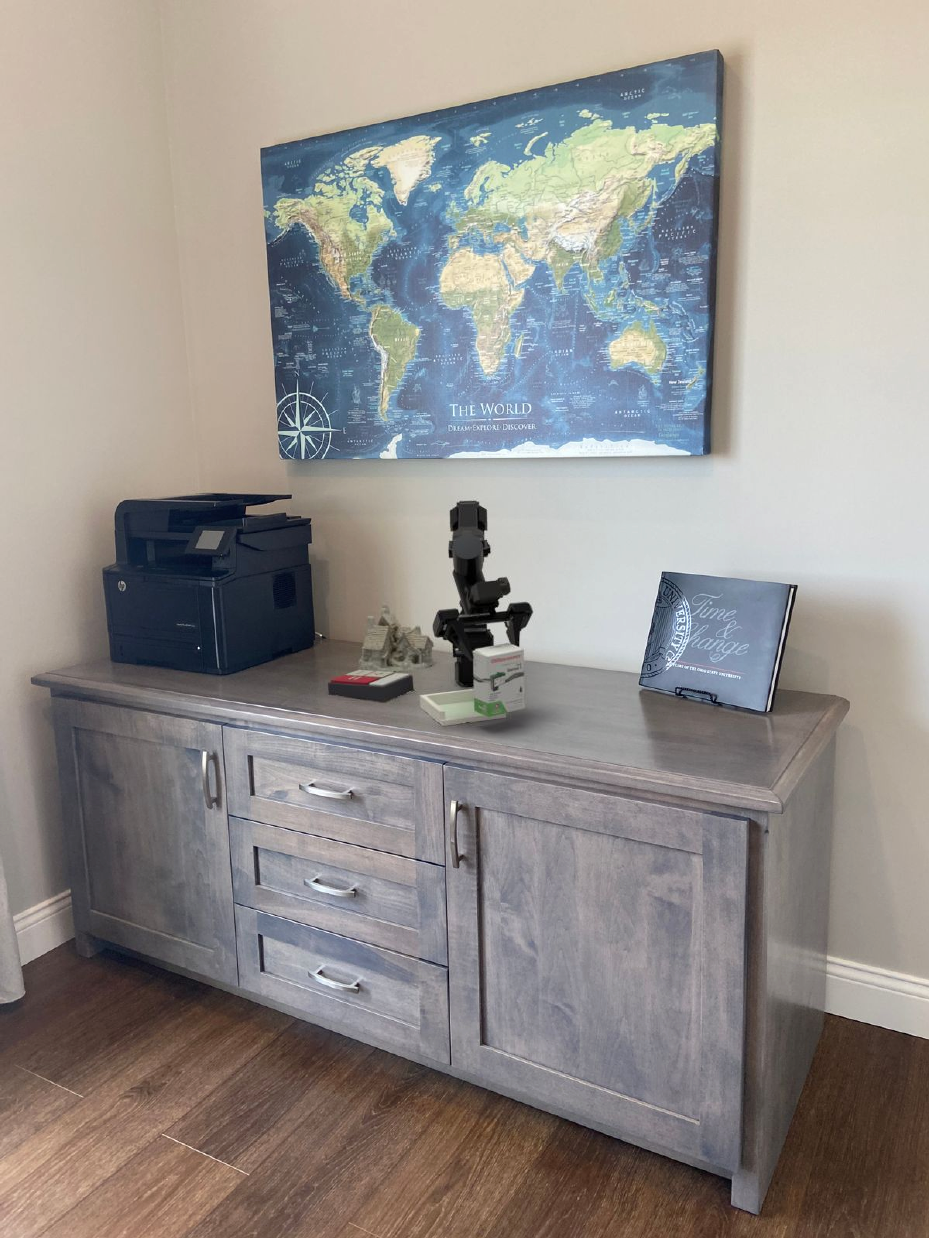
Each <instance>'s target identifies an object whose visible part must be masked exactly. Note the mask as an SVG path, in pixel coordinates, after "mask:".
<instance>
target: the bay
mask: <svg viewBox="0 0 929 1238" xmlns="http://www.w3.org/2000/svg"><path fill="white" fill-rule="evenodd" d="M419 706H420V707H421V710H423V711H424V712H425V713H426V712H427V713H428V714H427V713H426V714H427V715H429V716H430V717H431V718H432V719H433V720H434V719H435V722H437V723H438V722H439V723H440V724H441V725H440V724H439V723H438V724H439V725H440V726H441V727H445V726H446V727H447V726H454V725H460V724H461V723H462V724H467V723H466V722H470V723H475V722H482V721H491V720H497V719H505V718H507V713H504V714H500V715H495V716H492V717H487V716H485V715H483V714H480V713H478V712H476V711H474V688H469V689H462V690H454V691H446V692H445V691H444V692H443V691H442V692H436V693H430V694H429V693H428V694H421V695H420V694H419ZM462 724H461V725H462Z"/></svg>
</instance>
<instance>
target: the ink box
mask: <svg viewBox="0 0 929 1238" xmlns="http://www.w3.org/2000/svg"><path fill="white" fill-rule="evenodd" d="M524 650H525V649H524V648H522V647H520V646H519V647H517V646H515V645H513V644H511V643H510V642H506V643H500V644H494V646H489V647H484V648H479V649H475V650H474V651H473V657H474V658H473V675H474V685H473V689H474V711H476V712H478V713H480V714H483V715H485V716H487V717H492V716H495V715H500V714H504V713H506V714H507V713H510V712H511V713H512V712H515V711H518V710H519V711H520V710H523V709H525V657H524V656H525V654H524V652H525V651H524Z"/></svg>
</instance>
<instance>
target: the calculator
mask: <svg viewBox="0 0 929 1238" xmlns="http://www.w3.org/2000/svg"><path fill="white" fill-rule="evenodd" d="M327 688H328V695H331V696H335V695H338V696H337V697H342V696H343V698H349V697H350V698H351V699H358V698H362V699H361V700H367V701H370V700H372V701H371V702H377V701H378V703H387V701H388V702H390V701H392V700H394V699H393V698H395V699H397V698H399V697H401V696H400V695H402V696H404V695H406V694H408V693H407V692H409V691H411V692H413V691H414V677H413V675H411V673H401V672H384V671H376V672H375V671H368V670H358V669H357V670H355V671H351V672H348V673H346V674H344V675H341V676H338V677H335V678H332V679H330V681H329V682H328V683H327ZM409 693H410V692H409ZM398 696H399V697H398ZM391 699H392V700H391ZM389 700H390V701H389Z"/></svg>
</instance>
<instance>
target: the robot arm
mask: <svg viewBox="0 0 929 1238" xmlns="http://www.w3.org/2000/svg"><path fill="white" fill-rule="evenodd" d="M449 529H450V533H451V532H452V535H451V536H452V537H451V538H452V539H451V540H448V553H447V554H448V559H452V563H453V564H452V566H453V570H452V576H453V581H454V583H455V586H456V590H457V592H458V596H459V599H460V600H459V602H458V603H459V607H460V608H461V610H460V611H459V609H457V607H455V608H447V609H446V608H445V609H444V608H443V609H439V610H438V611H437V612H436V613H435V617H434V620H433V623H432V631H433V635H434V638H442V640H443V641H448V642H449V643H451V644H452V658H456V661H455V662H454V681H455V682H456V683H458V684H459V685H461V686H463V687H472V686H473V687H474V675H473V658H474V657H473V651H474V650H475V649H479V648H484V647H489V646H495V641H494V639H495V638H494V637H495V636H494V634H493V633H492V631H491V628H488V624H495V623H496V624H497V623H504V627H505V628H507V629H506V630H505V633H506V636H507V639H508V643H511V644H513V645H515V646H517V647H520V642H521V641H520V640H521V638H520V637H521V636H520V635H521V632H522V630H523V629H525V628H526V627H527V625H528V623H529V622H530V620H531V617H532V616H533V614H534V610H533V607H532V604H530V603H529V602H528V601H518V602H510V603H509V604H508V607H507V608H506V610H502V611H497V610H496V608H499V606H500V601H499V600H500V599H503V597H504V596H508V595H509V594H510V593H511V592H512V591H511V590H512V588H511V584H510V582H509V579H508V577H507V576H504V577H503V576H502V577H498V578H497V579H494V580H486V579H485V575H484V572H483V568H484V562H485V558H488V556H489V555H490V554H492V553H491V552H492V551H491V545H490V544H489V542H488V539H485V531H487V532H488V510H487V508H485V507H483V506H482V505H480V501H477V500H459V501H456V506H455V507H453V508H451V509H450V510H449Z"/></svg>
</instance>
